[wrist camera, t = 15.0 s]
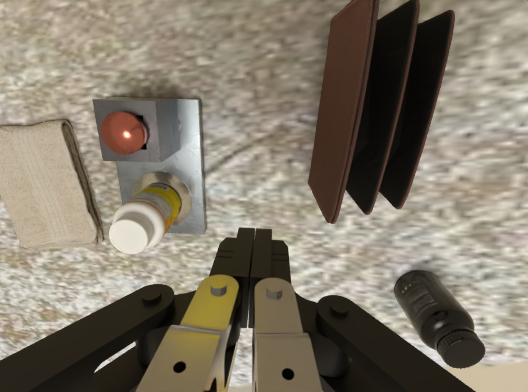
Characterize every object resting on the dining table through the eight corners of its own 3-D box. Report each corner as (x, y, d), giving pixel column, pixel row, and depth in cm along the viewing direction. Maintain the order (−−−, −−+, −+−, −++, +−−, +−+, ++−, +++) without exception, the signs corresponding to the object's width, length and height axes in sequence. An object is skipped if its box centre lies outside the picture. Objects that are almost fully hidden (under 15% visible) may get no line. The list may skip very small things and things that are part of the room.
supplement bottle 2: (392, 307, 46) (432, 377, 35) (393, 271, 44) (436, 335, 32) (436, 302, 46) (491, 372, 34) (439, 266, 43) (499, 329, 32)
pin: (135, 106, 34) (97, 111, 26) (168, 107, 34) (140, 113, 26) (139, 140, 35) (104, 154, 28) (171, 141, 35) (145, 155, 28)
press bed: (112, 96, 35) (66, 98, 27) (200, 99, 35) (180, 102, 27) (131, 226, 42) (99, 259, 34) (206, 229, 41) (191, 262, 34)
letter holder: (307, 184, 39) (326, 232, 26) (330, 17, 32) (373, -32, 19) (379, 190, 39) (434, 241, 26) (418, 25, 32) (522, -19, 19)
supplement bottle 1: (159, 225, 39) (123, 269, 30) (133, 192, 38) (88, 228, 28) (192, 207, 38) (166, 246, 29) (167, 173, 37) (132, 202, 27)
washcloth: (36, 245, 44) (20, 256, 41) (-15, 126, 37) (-39, 129, 34) (111, 239, 43) (100, 250, 40) (72, 117, 37) (56, 120, 34)
